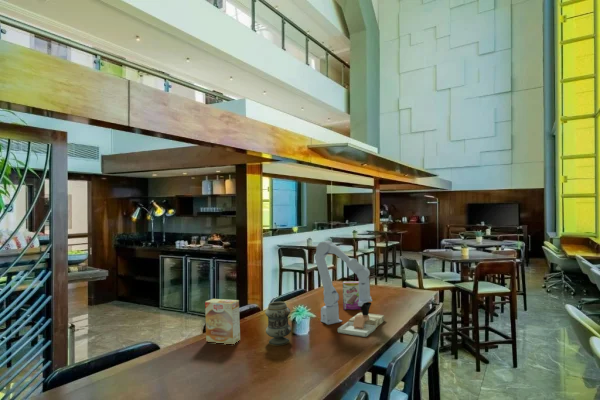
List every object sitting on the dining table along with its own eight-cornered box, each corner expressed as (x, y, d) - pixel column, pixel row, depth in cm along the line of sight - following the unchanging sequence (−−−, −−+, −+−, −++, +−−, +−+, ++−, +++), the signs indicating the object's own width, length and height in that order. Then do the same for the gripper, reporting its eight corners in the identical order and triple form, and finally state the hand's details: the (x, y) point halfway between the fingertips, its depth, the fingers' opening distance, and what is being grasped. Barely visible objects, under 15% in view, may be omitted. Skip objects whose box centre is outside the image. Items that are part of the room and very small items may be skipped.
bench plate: (374, 328, 186) (374, 322, 186) (349, 325, 194) (349, 319, 194) (384, 320, 199) (384, 315, 199) (360, 317, 206) (359, 312, 206)
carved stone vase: (280, 335, 181) (278, 299, 182) (297, 341, 173) (295, 302, 173) (260, 342, 173) (259, 304, 173) (277, 348, 164) (276, 308, 165)
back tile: (365, 321, 188) (365, 317, 188) (356, 320, 191) (356, 316, 191) (369, 319, 193) (369, 315, 193) (360, 318, 195) (360, 314, 195)
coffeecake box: (205, 342, 176) (204, 301, 176) (214, 337, 182) (212, 298, 183) (233, 345, 170) (231, 303, 171) (240, 340, 177) (239, 299, 178)
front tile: (363, 328, 186) (362, 327, 184) (354, 327, 188) (352, 325, 187) (365, 319, 188) (364, 317, 187) (356, 318, 191) (355, 316, 190)
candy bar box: (343, 310, 223) (342, 282, 224) (343, 307, 228) (342, 281, 229) (362, 309, 222) (360, 282, 223) (361, 307, 227) (360, 281, 228)
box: (366, 337, 175) (366, 332, 175) (337, 332, 183) (337, 328, 183) (375, 329, 186) (375, 325, 186) (348, 325, 194) (348, 321, 194)
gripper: (366, 294, 187) (367, 321, 187) (376, 288, 199) (377, 314, 199) (353, 293, 191) (354, 319, 190) (364, 287, 203) (365, 312, 203)
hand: (365, 316), depth 195 cm, fingers closed
